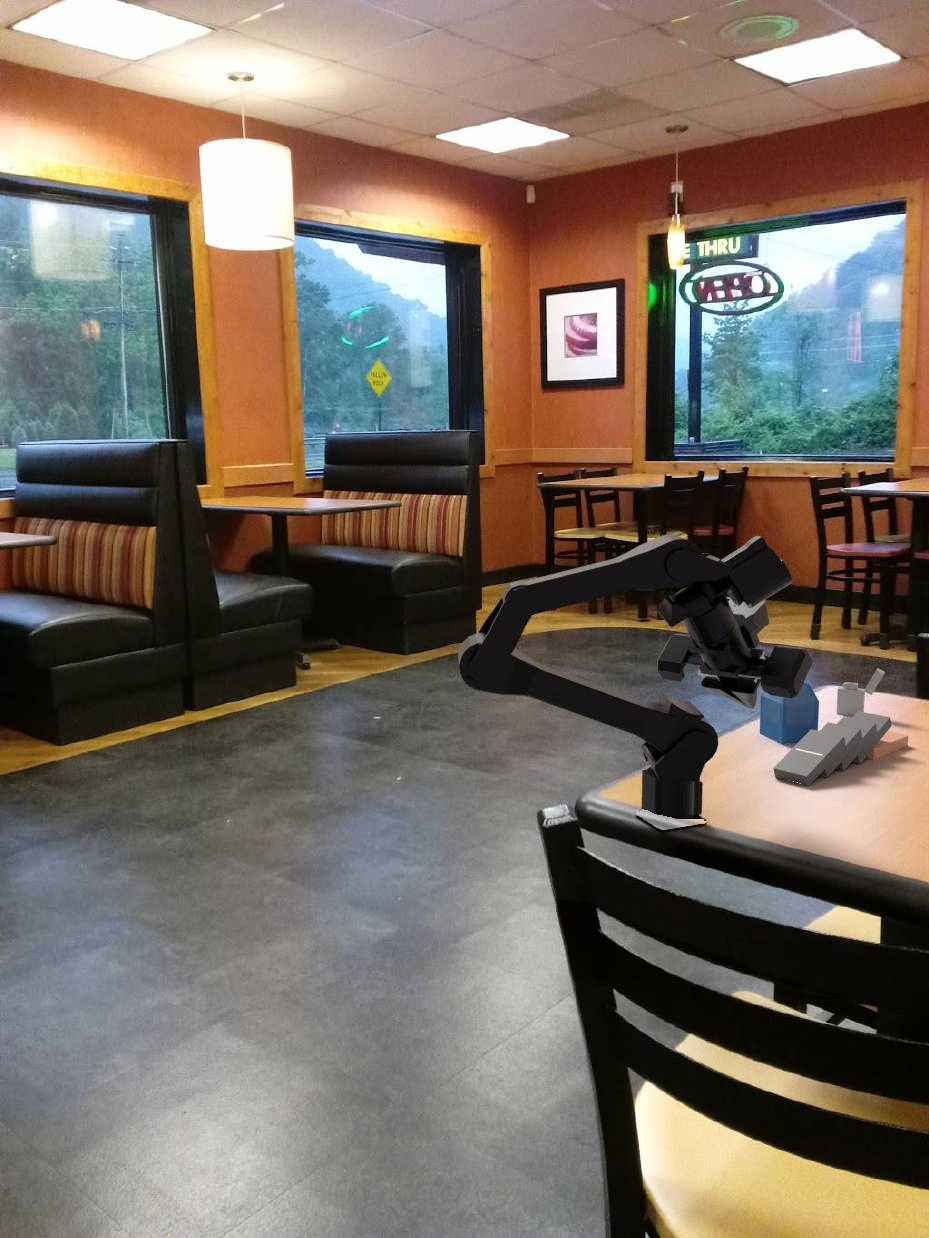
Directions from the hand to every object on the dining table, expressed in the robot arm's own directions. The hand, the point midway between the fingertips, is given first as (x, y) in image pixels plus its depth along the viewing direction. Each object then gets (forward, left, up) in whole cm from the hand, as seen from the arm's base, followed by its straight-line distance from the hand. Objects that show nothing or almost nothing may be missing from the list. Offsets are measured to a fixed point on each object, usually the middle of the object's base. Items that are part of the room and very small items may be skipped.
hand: (752, 705), depth 136 cm
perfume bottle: (+22, +20, -12) cm, 32 cm away
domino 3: (+17, +5, -11) cm, 21 cm away
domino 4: (+21, +7, -11) cm, 25 cm away
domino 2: (+13, +4, -11) cm, 17 cm away
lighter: (+41, +26, -12) cm, 50 cm away
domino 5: (+25, +8, -11) cm, 28 cm away
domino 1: (+8, +2, -11) cm, 14 cm away
